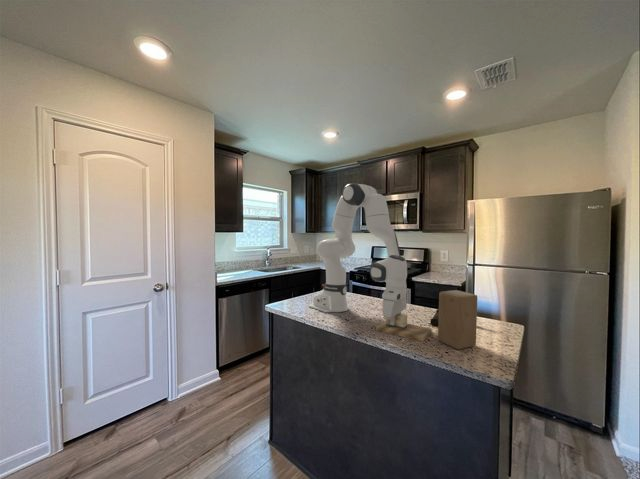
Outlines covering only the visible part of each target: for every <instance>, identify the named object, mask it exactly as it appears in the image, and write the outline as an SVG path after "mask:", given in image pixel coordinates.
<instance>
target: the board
mask: <svg viewBox="0 0 640 479" xmlns="http://www.w3.org/2000/svg"><path fill="white" fill-rule="evenodd" d="M375 331H379V332H383V333H385V334H386V333H387V334H391V335H394V336H399V337H403V338H408V339H411V340H416V341H420V342H424V341H425V340H427V339H426V338H428V336H430V334H431V333H432V328H430V327H425V326H420V325H417V324H411V323H407V327H406V328H404V329H400V328H396V327H391V326H387V325H386V320H384V321H383V322H381V323H380V324H378V325H377V326H376V328H375Z"/></svg>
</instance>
